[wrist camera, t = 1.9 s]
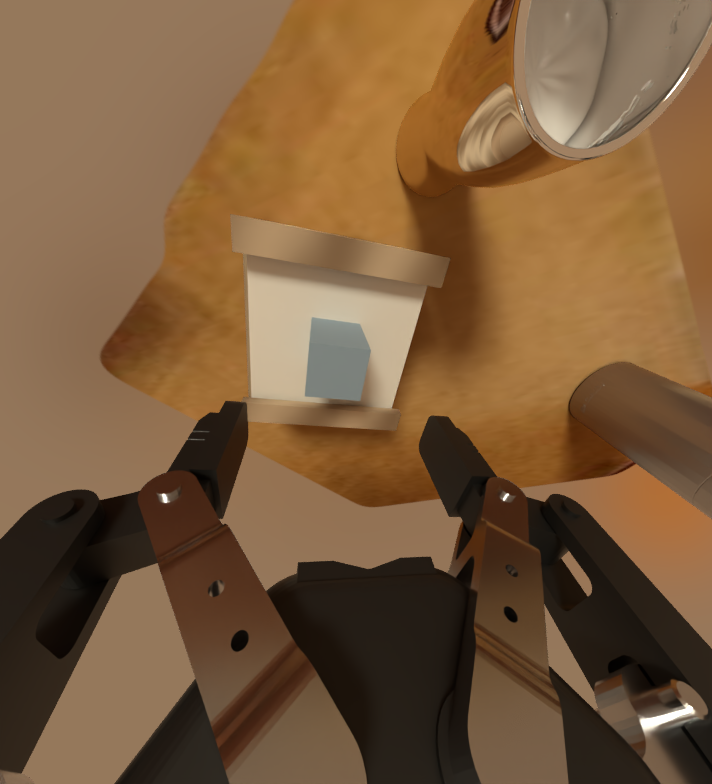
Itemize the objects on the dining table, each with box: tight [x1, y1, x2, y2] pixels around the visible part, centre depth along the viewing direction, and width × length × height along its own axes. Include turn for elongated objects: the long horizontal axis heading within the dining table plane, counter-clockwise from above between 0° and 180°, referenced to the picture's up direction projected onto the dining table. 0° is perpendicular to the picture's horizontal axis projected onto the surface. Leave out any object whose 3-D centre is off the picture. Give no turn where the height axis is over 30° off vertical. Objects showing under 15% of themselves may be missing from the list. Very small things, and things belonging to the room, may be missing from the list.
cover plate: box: [247, 254, 427, 409], centre depth 18 cm, size 12×12×6 cm
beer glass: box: [396, 0, 712, 197], centre depth 14 cm, size 7×7×15 cm
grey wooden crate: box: [230, 214, 451, 431], centre depth 22 cm, size 13×14×8 cm
